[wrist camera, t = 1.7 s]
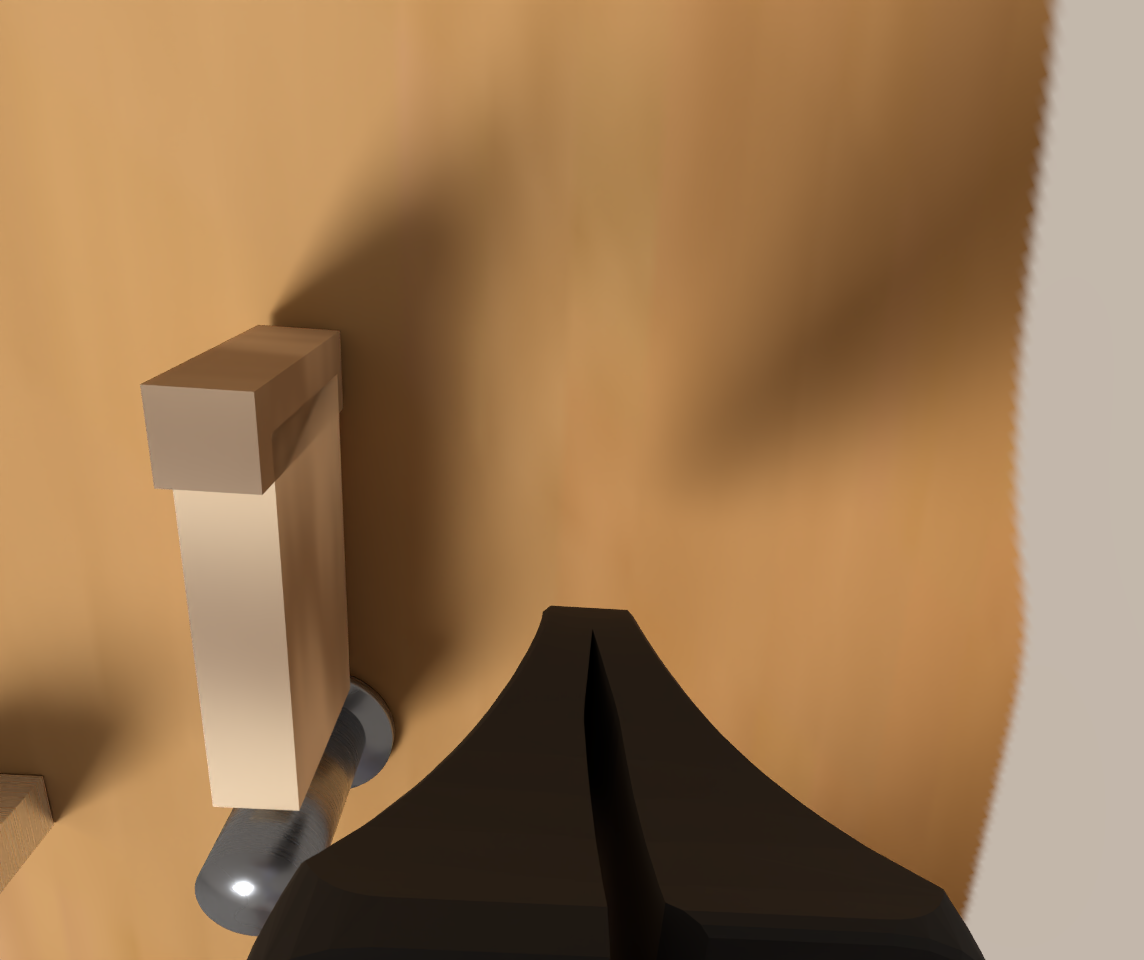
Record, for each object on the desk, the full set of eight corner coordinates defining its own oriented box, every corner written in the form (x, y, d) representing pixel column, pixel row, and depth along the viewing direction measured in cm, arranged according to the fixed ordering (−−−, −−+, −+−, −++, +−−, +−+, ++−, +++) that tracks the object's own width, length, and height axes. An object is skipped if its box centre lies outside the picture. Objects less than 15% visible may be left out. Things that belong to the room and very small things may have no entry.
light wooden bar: (353, 680, 17) (290, 833, 13) (285, 676, 17) (200, 829, 13) (340, 330, 14) (253, 391, 10) (257, 324, 14) (139, 384, 10)
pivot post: (395, 785, 19) (346, 963, 14) (260, 778, 19) (171, 955, 14) (393, 672, 18) (340, 831, 13) (249, 665, 17) (148, 821, 13)
